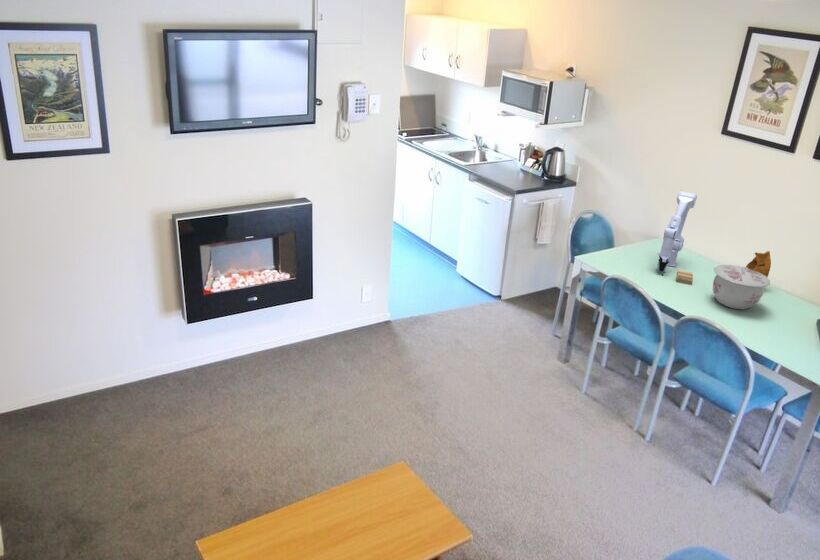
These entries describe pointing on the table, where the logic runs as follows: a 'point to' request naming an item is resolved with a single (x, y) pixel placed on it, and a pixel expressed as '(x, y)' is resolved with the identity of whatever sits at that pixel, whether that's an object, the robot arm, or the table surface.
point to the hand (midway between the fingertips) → (661, 269)
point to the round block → (660, 271)
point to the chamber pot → (738, 286)
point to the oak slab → (684, 275)
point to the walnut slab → (684, 281)
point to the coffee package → (761, 263)
